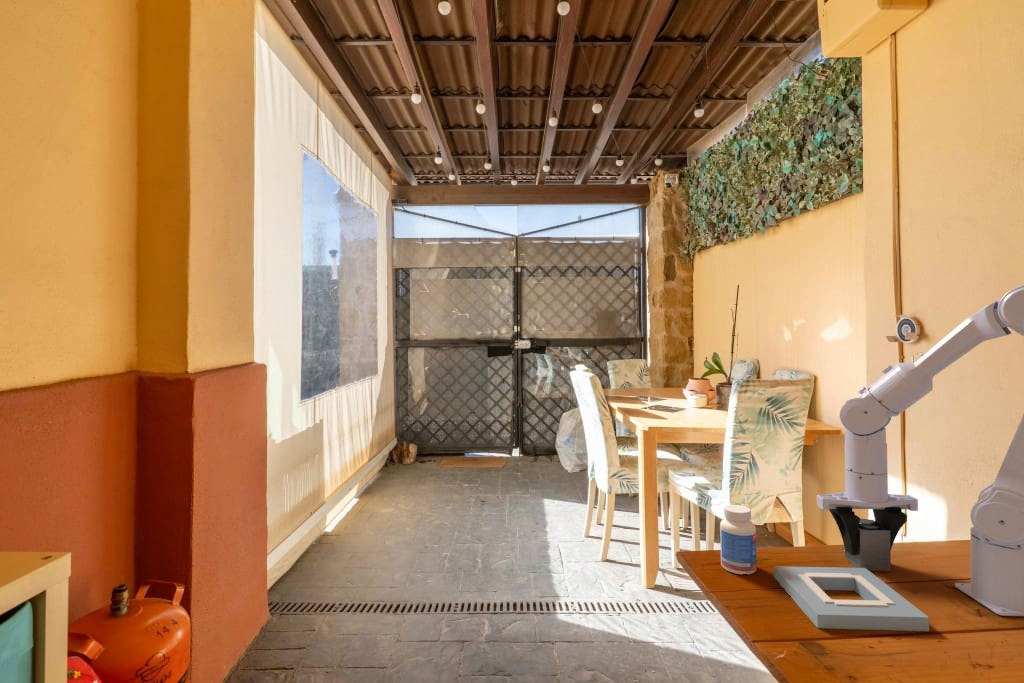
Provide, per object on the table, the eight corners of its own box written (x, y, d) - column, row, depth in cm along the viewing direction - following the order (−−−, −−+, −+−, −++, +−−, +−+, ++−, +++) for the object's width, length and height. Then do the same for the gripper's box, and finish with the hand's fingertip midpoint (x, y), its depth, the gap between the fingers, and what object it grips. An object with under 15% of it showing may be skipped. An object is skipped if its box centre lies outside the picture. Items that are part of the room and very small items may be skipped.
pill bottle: (761, 576, 79) (759, 515, 79) (724, 574, 81) (723, 513, 80) (751, 561, 85) (750, 503, 85) (717, 559, 86) (716, 502, 86)
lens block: (873, 558, 85) (872, 517, 85) (890, 571, 80) (890, 528, 80) (845, 557, 85) (844, 517, 85) (860, 570, 81) (860, 527, 81)
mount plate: (865, 579, 78) (865, 566, 78) (929, 631, 64) (928, 615, 64) (774, 577, 79) (773, 565, 79) (817, 628, 66) (817, 612, 66)
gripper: (896, 463, 86) (898, 542, 86) (807, 463, 87) (808, 541, 87) (926, 475, 79) (928, 561, 79) (828, 475, 80) (830, 560, 80)
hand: (867, 552), depth 83 cm, fingers closed on lens block, 4 cm apart
